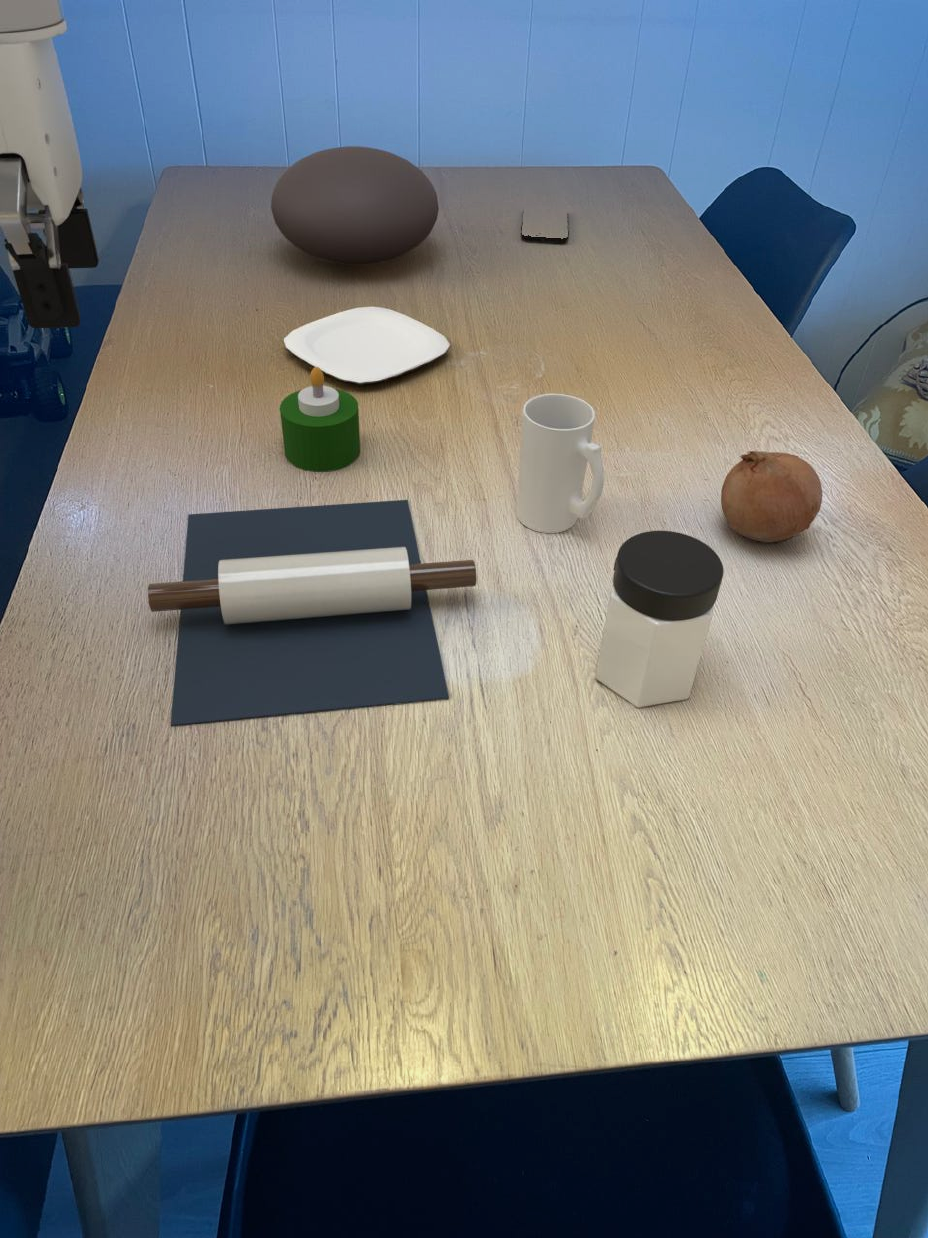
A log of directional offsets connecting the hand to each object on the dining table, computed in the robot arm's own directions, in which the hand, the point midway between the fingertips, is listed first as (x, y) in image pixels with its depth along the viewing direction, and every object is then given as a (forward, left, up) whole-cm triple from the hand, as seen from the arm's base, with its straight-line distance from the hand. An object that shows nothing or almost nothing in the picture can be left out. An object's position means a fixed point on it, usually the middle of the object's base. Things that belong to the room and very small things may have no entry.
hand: (66, 294), depth 64 cm
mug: (+35, -20, -28) cm, 49 cm away
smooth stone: (+70, +44, -28) cm, 87 cm away
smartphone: (+101, +31, -28) cm, 109 cm away
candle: (+28, +7, -28) cm, 41 cm away
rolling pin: (+8, -14, -24) cm, 29 cm away
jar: (+23, -38, -28) cm, 53 cm away
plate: (+48, +20, -28) cm, 59 cm away
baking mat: (+10, -10, -28) cm, 32 cm away
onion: (+48, -36, -28) cm, 66 cm away
